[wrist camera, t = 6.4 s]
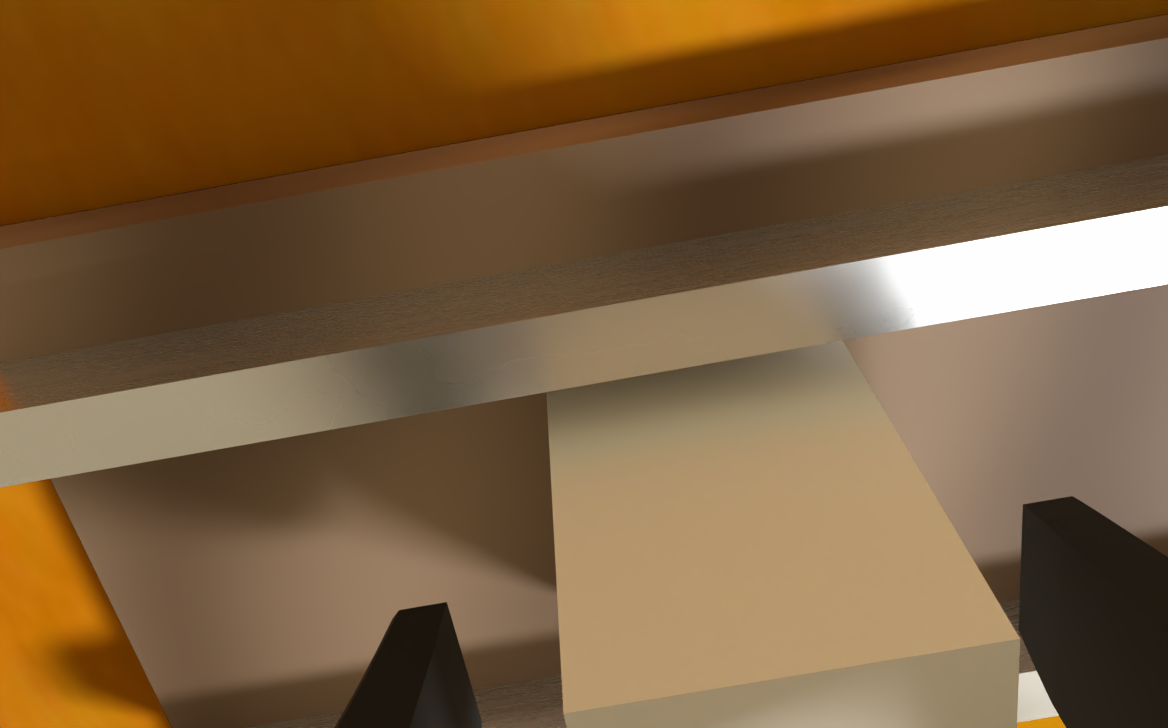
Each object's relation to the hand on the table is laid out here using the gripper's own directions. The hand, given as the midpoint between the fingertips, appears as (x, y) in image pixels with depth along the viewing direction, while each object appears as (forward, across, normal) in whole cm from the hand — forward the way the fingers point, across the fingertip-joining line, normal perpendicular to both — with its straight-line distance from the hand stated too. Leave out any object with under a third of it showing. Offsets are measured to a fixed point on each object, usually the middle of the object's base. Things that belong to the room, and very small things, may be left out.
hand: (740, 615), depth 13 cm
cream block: (+3, 0, 0) cm, 3 cm away
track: (+4, 0, 0) cm, 4 cm away
